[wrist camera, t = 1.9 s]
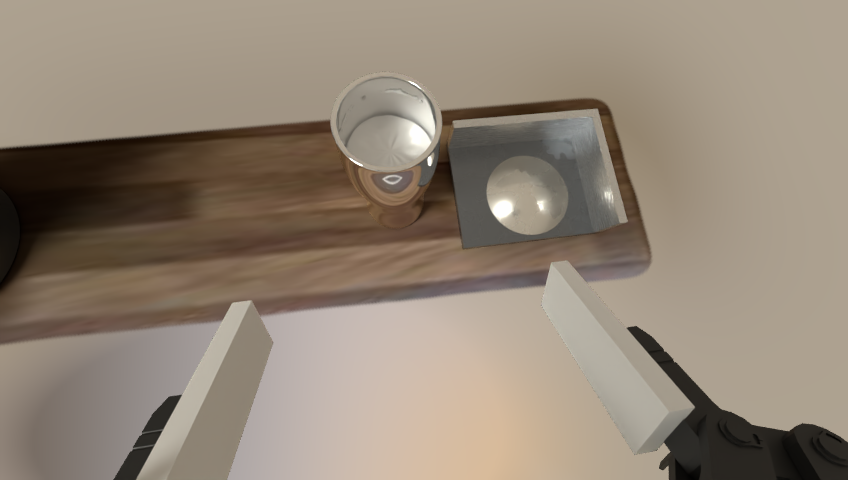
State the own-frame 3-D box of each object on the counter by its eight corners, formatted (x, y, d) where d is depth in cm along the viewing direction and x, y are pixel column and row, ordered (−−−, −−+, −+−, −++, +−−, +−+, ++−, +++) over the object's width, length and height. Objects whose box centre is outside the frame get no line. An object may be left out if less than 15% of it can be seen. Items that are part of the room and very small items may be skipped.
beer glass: (403, 245, 31) (401, 198, 17) (349, 209, 32) (301, 131, 17) (439, 194, 33) (467, 108, 18) (387, 159, 33) (373, 48, 18)
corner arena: (462, 249, 32) (472, 240, 27) (446, 145, 34) (452, 120, 29) (596, 233, 33) (627, 222, 28) (571, 134, 35) (597, 108, 30)
